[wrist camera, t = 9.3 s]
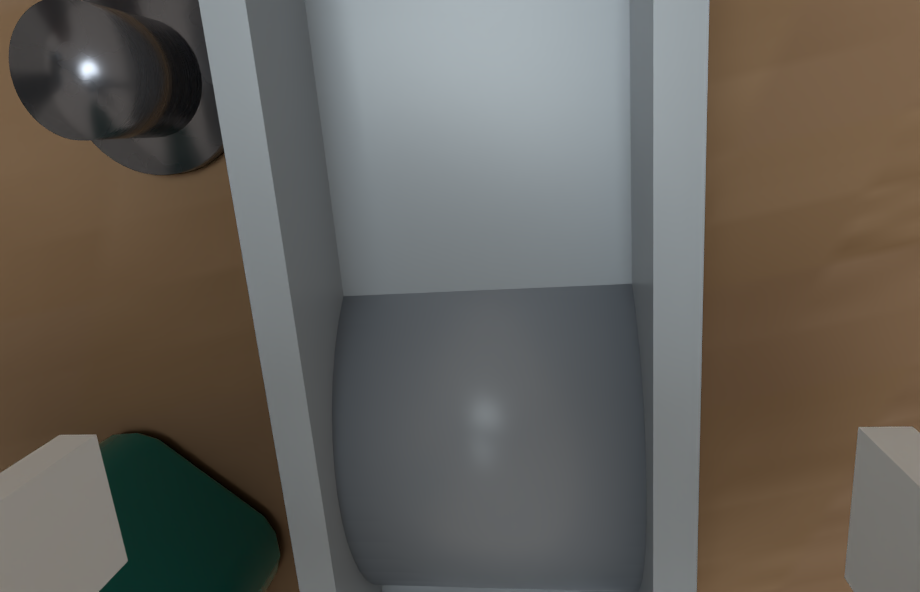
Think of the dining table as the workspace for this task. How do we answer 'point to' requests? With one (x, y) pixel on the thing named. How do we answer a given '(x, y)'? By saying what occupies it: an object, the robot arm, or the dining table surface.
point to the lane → (475, 283)
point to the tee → (121, 79)
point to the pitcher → (182, 524)
